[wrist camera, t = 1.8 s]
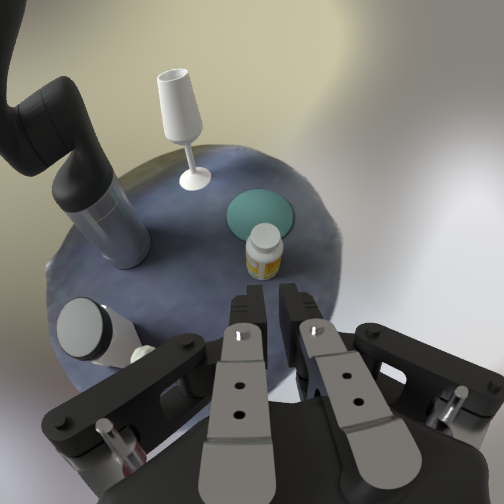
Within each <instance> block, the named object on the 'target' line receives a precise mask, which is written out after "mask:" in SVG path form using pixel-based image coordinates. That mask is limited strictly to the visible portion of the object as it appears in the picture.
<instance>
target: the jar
mask: <svg viewBox="0 0 504 504" xmlns="http://www.w3.org/2000/svg"><path fill="white" fill-rule="evenodd" d="M56 333H57V339H58V342H59V344H60V346H61V348H62V349H63V351H64V352H65V353H66V354H68V355H69V356H71V357H73V358H75V359H78V360H81V361H88V362H92V363H93V364H97V365H102V366H107V367H109V366H110V367H116V368H122V369H123V368H125V367H126V366H128V365H130V364H131V357H132V354H133V353H134V351H135V350H136V349H137V348H140V347H142V344H141V342H140V339H139V337H138V335H137V332H136V330H135V327H134V325H133V323H132V322H131V321H129V320H128V319H126V318H125V317H123V316H121V315H120V314H118V313H117V312H115V311H114V310H112V309H111V308H109V307H108V306H106V305H99V304H98V303H96V302H95V301H93V300H92V299H90V298H86V297H78V298H75V299H72V300H71V301H69V302H68V303H67V304H66V305H65V306H64V307H63V309H62V310H61V312H60V314H59V317H58V320H57V326H56Z"/></svg>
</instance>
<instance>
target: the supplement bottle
mask: <svg viewBox="0 0 504 504" xmlns="http://www.w3.org/2000/svg"><path fill="white" fill-rule="evenodd" d="M282 253H283V242H282V239H281V238H280V232H279V230H278V228H277V227H275V226H274V225H272V224H269V223H261V224H258V225H257V226H255V227H254V228H253V230H252V231H251V235H250V236H249V237H248V239H247V242H246V266H247V270H248V272H249V274H250V275H251V276H252V277H254V278H256V279H258V280H268V279H270V278H272V277H274V276H275V275H276V274H277V272H278V270H279V267H280V262H281V257H282Z"/></svg>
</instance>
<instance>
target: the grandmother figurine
mask: <svg viewBox="0 0 504 504" xmlns="http://www.w3.org/2000/svg"><path fill="white" fill-rule="evenodd" d="M154 349H156V348H154V347H151V346H149V345H146V346H143V347H140V348H137V349H136V350H135V351H134V353H133V354H132V357H131V363H133V362H135V361H136V360H138V359H140V358H141V357H143V356H144V355H146V354H148V353H149V352H151V351H153V350H154Z"/></svg>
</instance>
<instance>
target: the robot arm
mask: <svg viewBox="0 0 504 504" xmlns="http://www.w3.org/2000/svg"><path fill="white" fill-rule="evenodd" d="M26 1H27V0H0V155H1V156H2V157H3V158H4V159H5V160H6V161H7V162H8V163H9V164H10V165H11V166H12V167H13V168H14V169H15V170H17V171H18V172H19V173H21V174H23V175H25V176H30V177H32V176H35V175H38V174H40V173H41V172H43V171H45V170H46V169H47V168H48V167H50V166H51V165H53V164H54V163H55V162H57V161H58V160H59V159H61V158H62V157H64V156H65V155H67V154H68V153H69V152H70V151H71V153H70V155H69V157H68V158H67V160H66V162H65V163H64V164H63V165H62V167H61V168H60V170H59V171H58V173H57V175H56V177H55V179H54V181H53V185H52V194H53V197H54V199H55V201H56V203H57V204H58V205H59V206H60V207H61V209H62V210H63V211H64V212H65V213H66V215H67V216H68V217H69V218H70V219H71V221H72V222H73V223H74V224H75V225H76V226H77V227H78V229H79V230H80V231H81V232H82V233H83V234H84V235H85V237H86V238H87V239H88V240H89V241H90V242H91V243H92V244H93V245H94V246H95V247H96V249H97V250H98V251H99V252H100V253H101V254H102V255H103V256H104V257H105V258H106V259H107V260H108V261H109V262H110V263H111V264H112V265H113V266H114V267H116V268H118V269H129V268H132V267H135V266H136V265H138V264H139V263H141V262H142V261H143V260H144V258H145V257H146V256H147V254H148V252H149V250H150V246H151V239H150V235H149V233H148V231H147V230H146V228H145V226H144V224H143V223H142V221H141V219H140V217H139V216H138V214H137V212H136V210H135V209H134V207H133V205H132V203H131V202H130V200H129V198H128V196H127V194H126V193H125V191H124V189H123V187H122V185H121V183H120V182H119V180H118V178H117V176H116V174H115V172H114V170H113V168H112V166H111V164H110V162H109V161H108V159H107V157H106V155H105V153H104V152H103V149H102V148H101V146H100V143H99V141H98V139H97V136H96V134H95V132H94V129H93V127H92V124H91V121H90V118H89V116H88V113H87V110H86V107H85V104H84V102H83V99H82V97H81V95H80V92H79V90H78V88H77V86H76V85H75V83H74V82H73V81H72V80H71V79H70V78H68V77H66V76H61V77H59V78H57V79H55V80H53V81H51V82H50V83H48V84H47V85H45V86H43V87H42V88H41V89H39V90H38V91H36V92H35V93H33V94H32V95H31V96H29V97H28V98H26V99H25V100H24V101H22V102H21V103H20V104H18V105H17V106H16V107H10V106H8V104H7V100H6V90H7V89H6V88H7V76H8V70H9V65H10V61H11V57H12V53H13V50H14V46H15V43H16V39H17V36H18V32H19V29H20V25H21V22H22V19H23V15H24V11H25V6H26ZM279 321H280V327H281V332H282V337H283V341H284V346H285V351H286V356H287V361H288V365H289V367H296V383H297V387H298V391H299V396H300V400H301V402H298V403H282V402H273V401H268V395H267V383H266V372H265V369H267V319H266V312H265V304H264V297H263V290H262V285H247V295H240V296H236V297H235V298H234V299H233V300H232V301H231V312H230V321H229V327H228V328H227V329H226V330H225V332H224V337H222V338H221V339H218V340H216V341H211V342H207V343H205V341H204V339H203V338H202V337H201V336H199V335H196V334H181V335H178V336H175V337H173V338H172V339H170V340H169V341H167V342H165V343H164V344H162V345H161V346H159V347H157V348H156V349H154V350H153V351H151V352H149V353H148V354H146V355H144V356H143V357H141V358H140V359H138V360H136V361H135V362H133V363H131V364H130V365H128V366H126V367H125V368H123V369H121V370H120V371H118V372H116V373H115V374H113V375H111V376H110V377H108V378H106V379H105V380H103V381H101V382H100V383H98V384H96V385H94V386H93V387H91V388H89V389H88V390H86V391H84V392H82V393H81V394H79V395H77V396H75V397H74V398H72V399H70V400H68V401H67V402H65V403H63V404H61V405H60V406H58V407H56V408H54V409H52V410H51V411H49V412H48V413H47V414H46V415H45V416H44V418H43V420H42V425H41V427H42V431H43V433H44V434H45V436H46V437H47V438H48V439H49V441H50V442H51V443H52V444H53V445H54V446H55V448H56V450H57V452H58V453H59V454H60V455H61V456H62V457H63V458H64V459H65V460H66V461H67V462H68V463H69V464H70V465H71V467H73V469H74V470H76V471H77V472H78V474H79V475H80V476H81V477H82V479H83V480H84V481H85V482H86V484H87V485H88V486H89V487H90V488H91V490H92V491H93V492H94V493H95V495H97V497H98V498H99V500H98V503H97V504H491V503H490V498H489V487H488V479H489V478H488V477H489V470H488V465H487V462H486V459H485V458H484V456H483V454H482V453H481V452H480V451H479V449H480V447H481V444H482V442H483V439H484V437H485V434H486V432H487V429H488V427H489V424H490V421H491V420H492V419H493V417H494V416H495V414H496V413H497V411H498V410H499V408H500V407H501V405H502V404H503V402H504V377H503V376H502V375H500V374H498V373H496V372H493V371H491V370H488V369H486V368H483V367H481V366H478V365H476V364H473V363H471V362H468V361H466V360H463V359H461V358H459V357H456V356H454V355H451V354H449V353H447V352H444V351H442V350H439V349H437V348H435V347H432V346H430V345H427V344H425V343H422V342H420V341H418V340H415V339H413V338H411V337H408V336H406V335H404V334H401V333H399V332H397V331H394V330H392V329H389V328H387V327H385V326H383V325H380V324H377V323H364V324H361V325H359V326H358V327H357V328H356V331H355V334H354V333H342V332H338V331H337V330H336V329H335V327H334V325H333V324H332V323H331V322H329V321H327V320H324V319H323V317H322V315H321V313H320V311H319V309H318V308H317V305H316V303H315V301H314V299H313V297H312V296H311V295H309V294H308V293H306V292H301V293H299V292H298V290H297V287H296V285H295V283H289V284H280V286H279ZM382 362H384V363H386V364H388V365H390V366H392V367H394V368H396V369H398V370H400V371H402V372H403V373H404V374H405V375H406V379H407V381H406V384H402V383H401V382H398V381H397V380H395V379H393V378H391V377H389V376H387V375H385V374H383V373H381V372H380V369H381V365H382ZM176 381H177V382H178V384H177V385H176V386H175V387H173V388H172V389H171V390H169V391H168V392H167V393H165V394H164V395H163V396H161V394H162V392H163V391H164V390H165V389H166V388H168V387H169V386H170V385H172V384H173V383H174V382H176ZM160 396H161V397H160ZM211 400H212V402H211V410H210V416H208V417H206V418H204V419H203V420H201V421H199V422H198V423H197V424H195V425H194V426H193V427H192V428H191V429H189V430H188V431H187V432H186V433H184V434H183V435H182V436H181V437H179V438H178V439H177V440H176V441H175V442H173V443H172V444H171V445H169V446H168V447H167V448H165V449H164V450H163V451H161V452H160V453H159V454H157V455H156V456H155V457H153V458H152V459H151V460H149V461H148V462H146V460H147V457H146V455H147V454H148V453H149V452H151V451H152V450H153V449H155V448H156V447H157V446H158V445H159V444H161V443H162V442H163V441H165V440H166V439H167V438H168V437H170V436H171V435H172V434H173V433H174V432H176V431H177V430H178V429H179V428H180V427H182V426H183V425H184V424H185V423H186V422H188V421H189V420H190V419H191V418H192V417H193V416H195V415H196V414H197V413H198V412H199V411H200V410H201V409H203V408H204V407H205V406H206V405H207V404H208V403H209V402H210V401H211Z"/></svg>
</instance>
